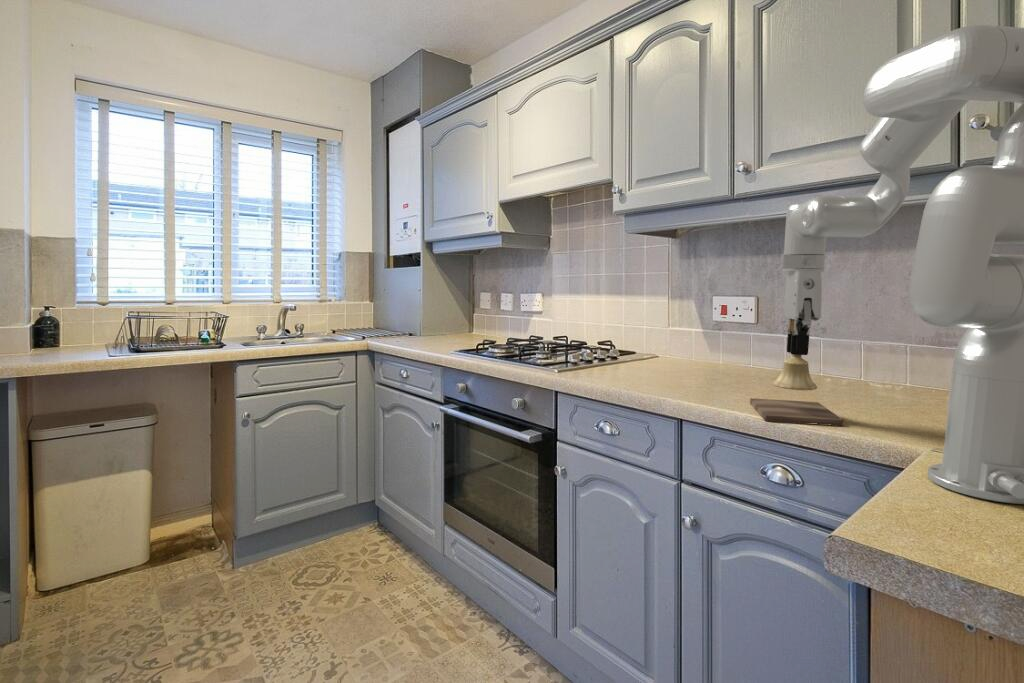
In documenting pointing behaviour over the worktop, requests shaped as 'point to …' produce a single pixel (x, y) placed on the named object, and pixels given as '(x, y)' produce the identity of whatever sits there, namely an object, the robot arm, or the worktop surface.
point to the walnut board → (794, 412)
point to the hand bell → (795, 372)
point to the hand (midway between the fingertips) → (797, 352)
